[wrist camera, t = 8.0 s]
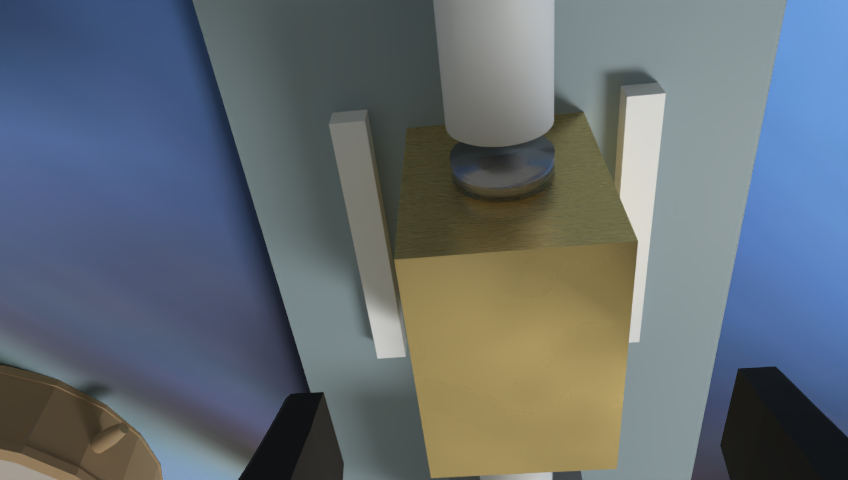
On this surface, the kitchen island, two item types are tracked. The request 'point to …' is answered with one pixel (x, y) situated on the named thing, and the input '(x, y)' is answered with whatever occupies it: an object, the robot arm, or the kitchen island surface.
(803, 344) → the kitchen island surface
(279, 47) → the long grey base plate
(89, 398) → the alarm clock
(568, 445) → the block
